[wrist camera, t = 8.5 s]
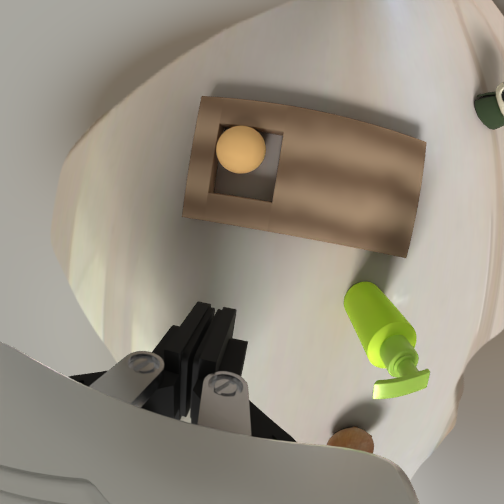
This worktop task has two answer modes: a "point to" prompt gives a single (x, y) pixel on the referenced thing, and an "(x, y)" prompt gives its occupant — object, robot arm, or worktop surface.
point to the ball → (240, 149)
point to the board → (313, 176)
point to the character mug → (491, 108)
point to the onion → (352, 439)
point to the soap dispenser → (385, 340)
